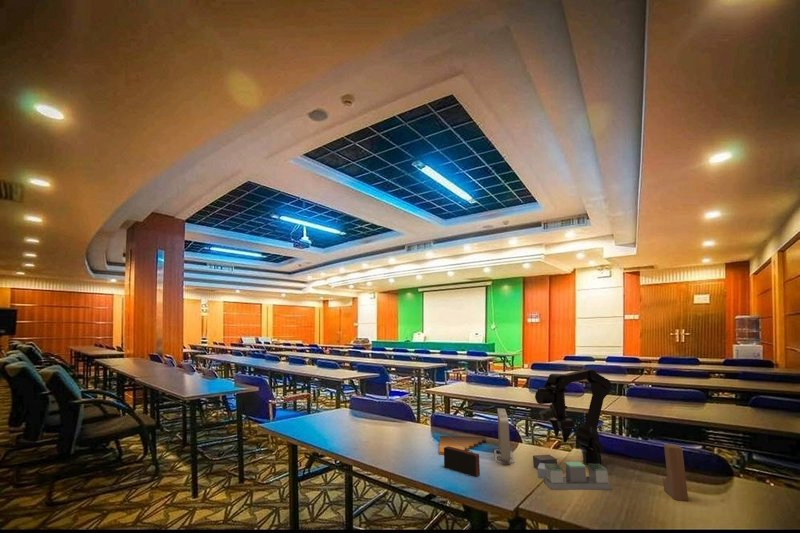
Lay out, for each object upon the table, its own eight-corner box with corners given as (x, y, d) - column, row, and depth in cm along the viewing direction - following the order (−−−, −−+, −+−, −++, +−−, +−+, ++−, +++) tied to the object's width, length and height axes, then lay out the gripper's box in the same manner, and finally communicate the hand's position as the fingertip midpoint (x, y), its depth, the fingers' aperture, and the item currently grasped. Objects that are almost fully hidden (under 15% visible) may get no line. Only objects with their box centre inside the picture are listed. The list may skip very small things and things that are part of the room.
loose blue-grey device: (552, 474, 161) (552, 464, 162) (551, 480, 155) (550, 469, 156) (540, 472, 163) (539, 462, 164) (538, 478, 157) (537, 467, 158)
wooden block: (663, 489, 145) (658, 440, 148) (676, 491, 144) (671, 440, 147) (674, 500, 136) (668, 446, 139) (688, 501, 135) (682, 447, 138)
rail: (601, 481, 153) (599, 463, 154) (610, 489, 146) (609, 469, 147) (544, 482, 153) (543, 463, 154) (550, 489, 146) (549, 469, 147)
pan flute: (485, 442, 208) (439, 441, 210) (485, 436, 208) (439, 434, 211) (491, 457, 183) (439, 456, 186) (491, 450, 184) (439, 448, 186)
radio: (480, 475, 160) (479, 437, 162) (476, 477, 158) (475, 439, 160) (444, 464, 172) (444, 430, 175) (440, 466, 170) (440, 431, 173)
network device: (515, 466, 170) (513, 419, 173) (495, 465, 171) (493, 419, 175) (511, 449, 194) (509, 408, 198) (493, 448, 196) (491, 407, 199)
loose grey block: (550, 466, 171) (549, 454, 171) (557, 471, 165) (556, 459, 166) (533, 467, 169) (532, 455, 170) (540, 472, 163) (540, 460, 164)
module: (581, 477, 152) (579, 461, 153) (586, 482, 147) (585, 465, 148) (566, 477, 152) (564, 461, 153) (571, 482, 147) (569, 465, 148)
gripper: (533, 399, 182) (535, 433, 179) (548, 407, 163) (550, 445, 161) (556, 399, 182) (559, 433, 179) (574, 407, 163) (577, 445, 161)
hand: (560, 439), depth 170 cm, fingers open, 9 cm apart
